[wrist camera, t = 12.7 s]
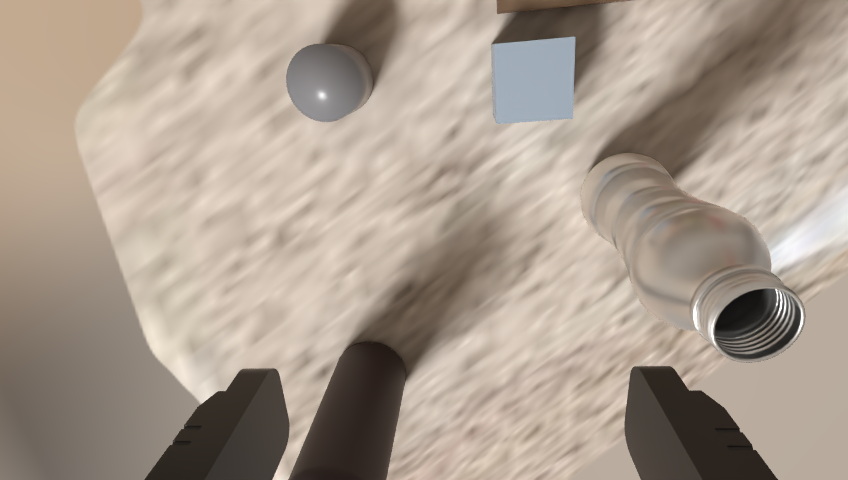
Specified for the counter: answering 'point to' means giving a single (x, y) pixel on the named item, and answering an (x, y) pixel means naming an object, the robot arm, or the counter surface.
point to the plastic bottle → (692, 259)
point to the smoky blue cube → (533, 80)
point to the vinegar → (355, 418)
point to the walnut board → (543, 4)
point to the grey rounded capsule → (329, 81)
